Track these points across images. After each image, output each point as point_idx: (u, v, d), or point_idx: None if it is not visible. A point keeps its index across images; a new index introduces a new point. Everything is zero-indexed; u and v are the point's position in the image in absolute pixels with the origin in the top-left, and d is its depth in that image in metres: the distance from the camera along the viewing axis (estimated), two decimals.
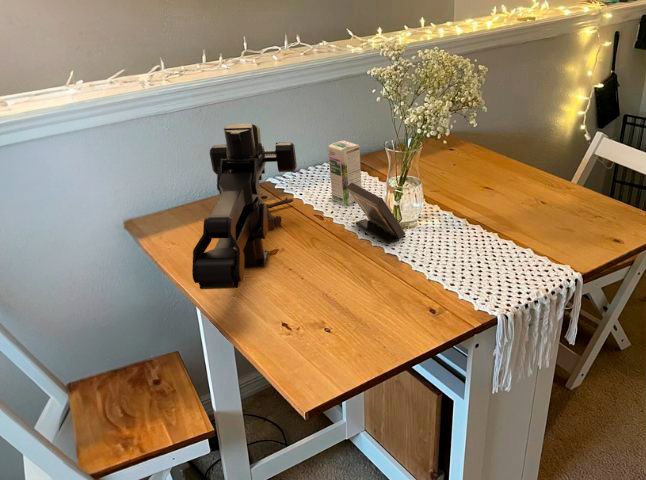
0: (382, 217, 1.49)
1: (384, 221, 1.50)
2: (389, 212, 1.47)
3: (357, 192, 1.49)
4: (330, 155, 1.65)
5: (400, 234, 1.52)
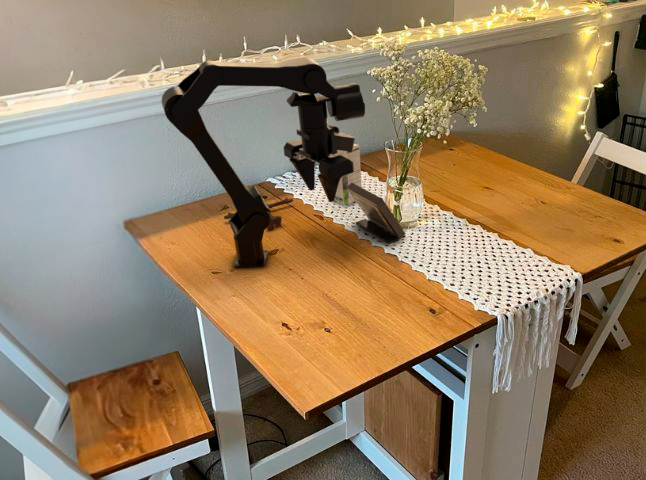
0: (382, 217, 1.49)
1: (384, 221, 1.50)
2: (389, 212, 1.47)
3: (357, 192, 1.49)
4: (330, 155, 1.65)
5: (400, 234, 1.52)
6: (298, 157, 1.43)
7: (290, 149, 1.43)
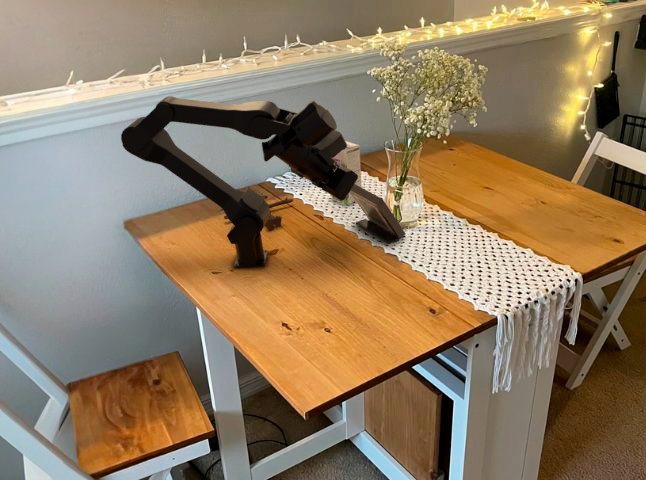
0: (382, 217, 1.49)
1: (384, 221, 1.50)
2: (389, 212, 1.47)
3: (357, 192, 1.49)
4: None
5: (400, 234, 1.52)
6: None
7: (297, 173, 1.43)
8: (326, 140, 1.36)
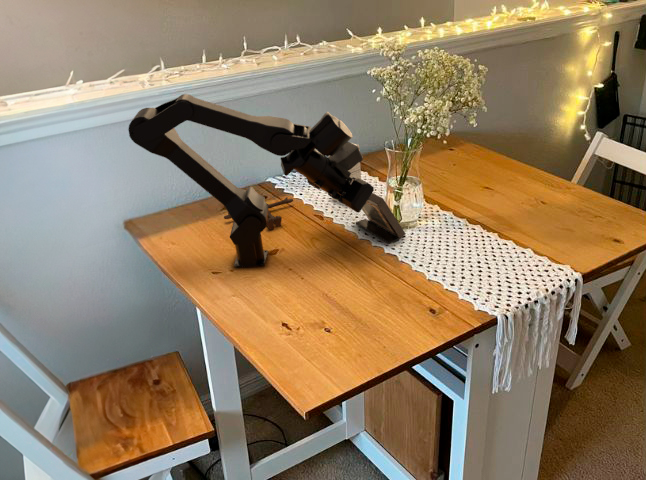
0: (382, 217, 1.49)
1: (384, 221, 1.50)
2: (389, 212, 1.47)
3: None
4: None
5: (400, 234, 1.52)
6: None
7: (313, 185, 1.47)
8: (343, 153, 1.40)
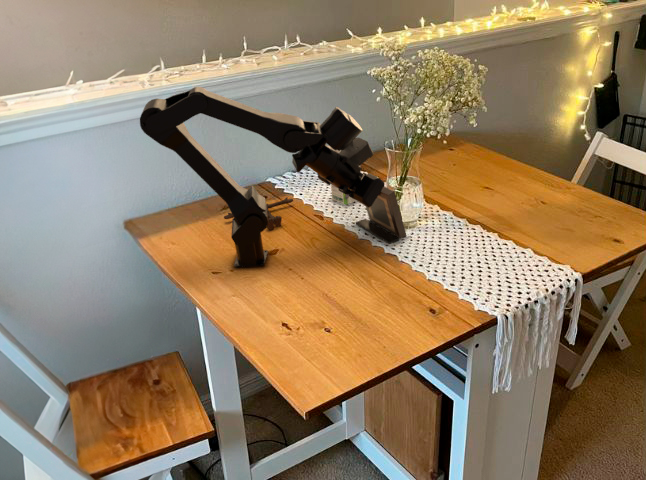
0: (388, 212, 1.49)
1: (389, 217, 1.51)
2: (397, 207, 1.48)
3: None
4: None
5: (401, 234, 1.52)
6: None
7: (324, 180, 1.48)
8: (353, 149, 1.41)
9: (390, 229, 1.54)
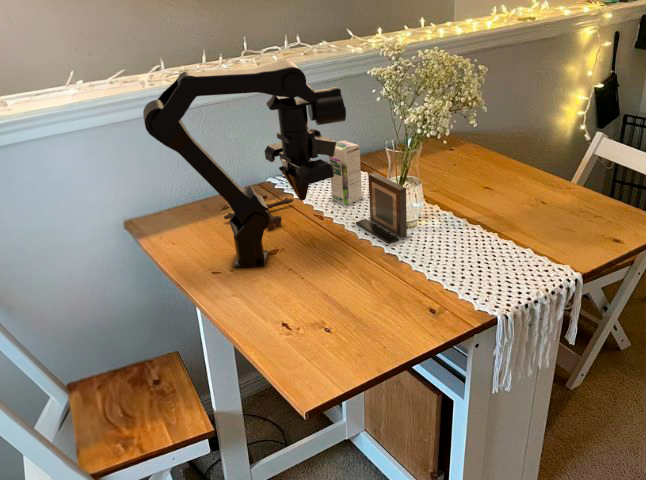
0: (395, 209, 1.50)
1: (394, 215, 1.51)
2: (404, 205, 1.49)
3: (379, 179, 1.52)
4: None
5: (402, 234, 1.52)
6: (288, 166, 1.39)
7: (271, 153, 1.41)
8: (321, 138, 1.40)
9: (391, 228, 1.54)
